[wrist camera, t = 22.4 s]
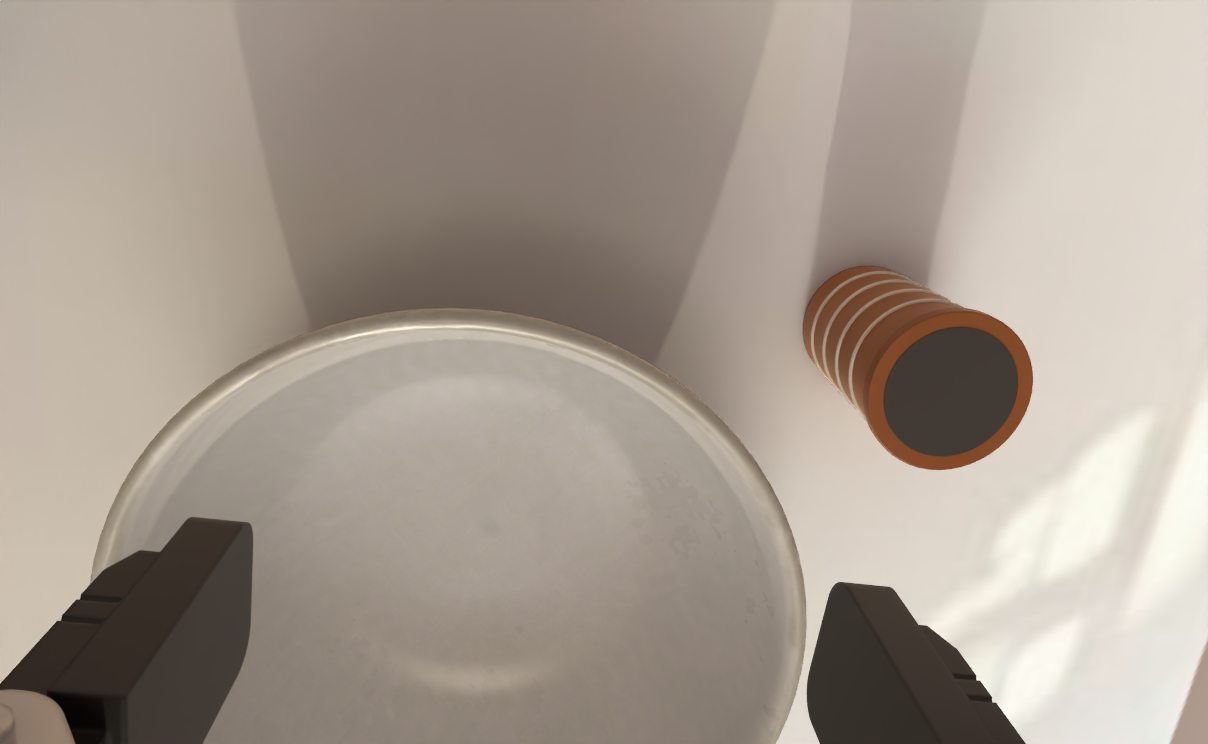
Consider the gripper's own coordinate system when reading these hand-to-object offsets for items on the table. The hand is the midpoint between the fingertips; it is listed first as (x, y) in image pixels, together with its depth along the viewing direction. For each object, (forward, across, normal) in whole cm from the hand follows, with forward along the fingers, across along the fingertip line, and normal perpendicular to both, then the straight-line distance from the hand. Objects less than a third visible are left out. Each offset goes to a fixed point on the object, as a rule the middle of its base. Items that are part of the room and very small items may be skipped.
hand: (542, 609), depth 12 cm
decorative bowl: (+30, +2, +14) cm, 33 cm away
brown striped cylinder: (+25, -16, -1) cm, 30 cm away
